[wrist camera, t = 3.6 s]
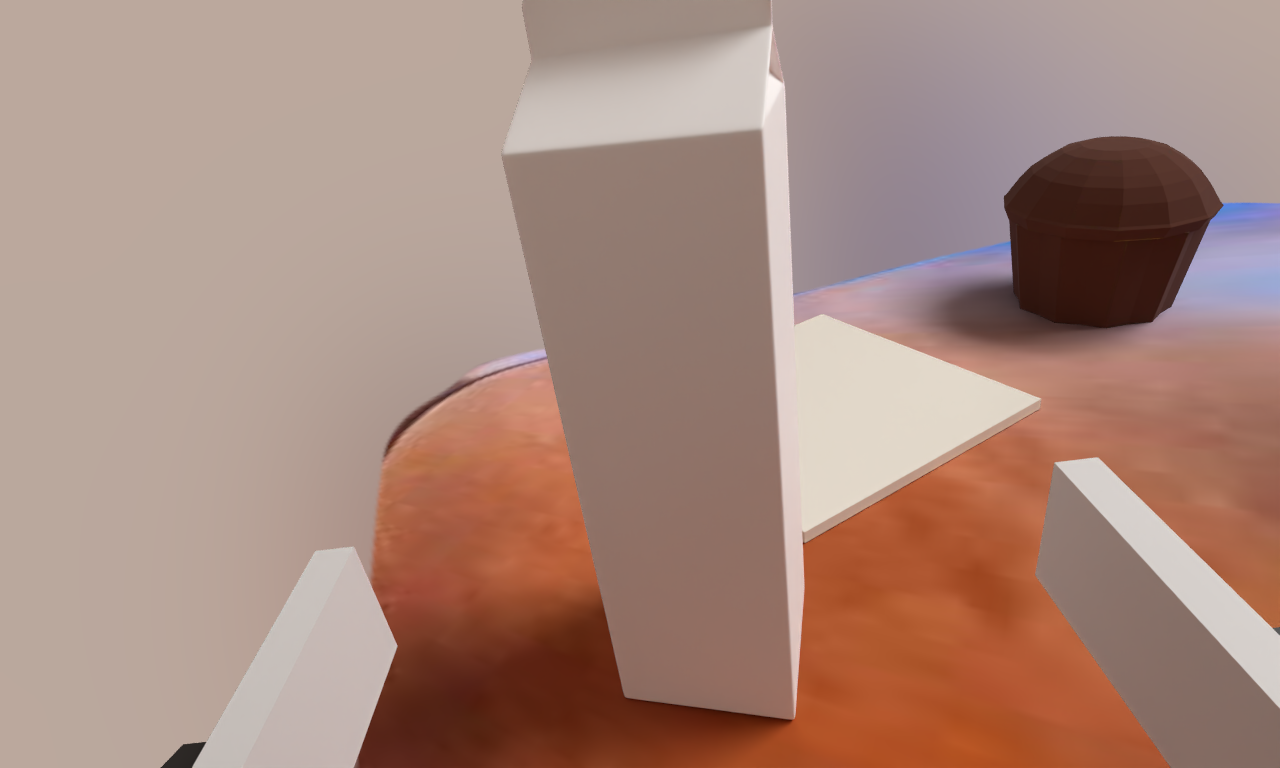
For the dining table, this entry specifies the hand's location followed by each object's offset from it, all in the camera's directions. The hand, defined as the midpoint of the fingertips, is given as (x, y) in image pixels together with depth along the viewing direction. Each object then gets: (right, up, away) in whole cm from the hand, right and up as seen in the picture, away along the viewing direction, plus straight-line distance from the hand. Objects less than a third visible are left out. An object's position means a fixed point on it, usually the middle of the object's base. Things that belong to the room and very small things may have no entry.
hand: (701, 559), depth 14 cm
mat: (+9, +2, +26) cm, 28 cm away
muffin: (+29, +9, +33) cm, 45 cm away
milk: (+2, -6, +13) cm, 15 cm away
